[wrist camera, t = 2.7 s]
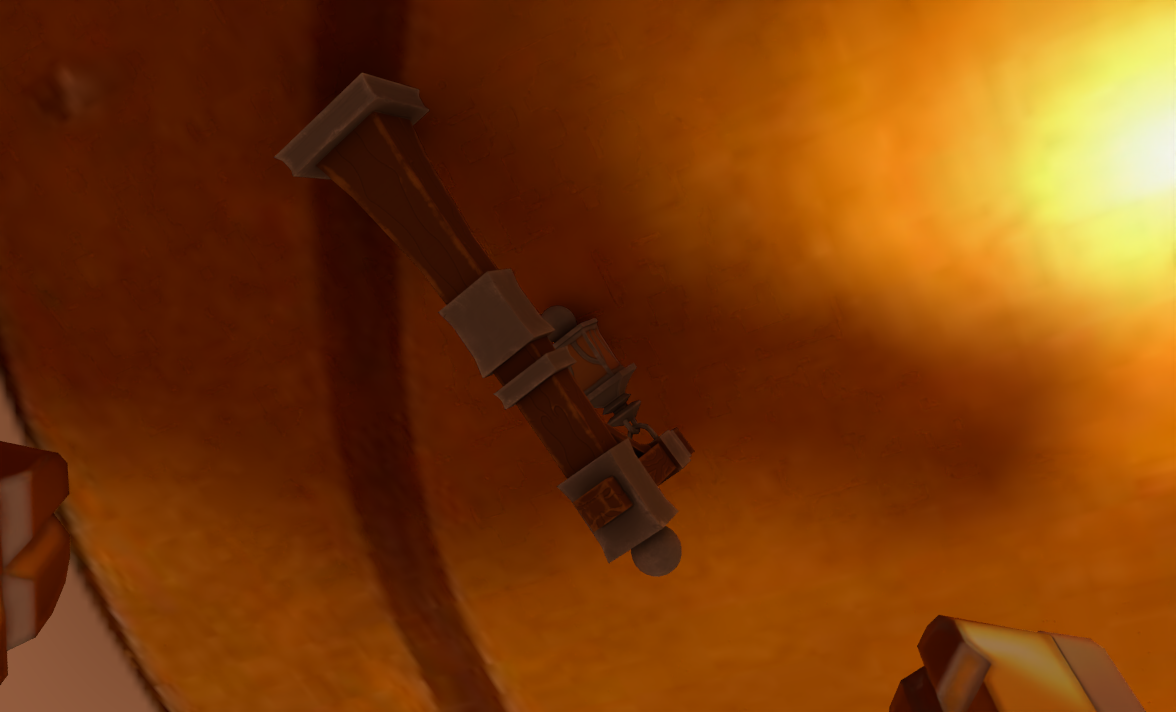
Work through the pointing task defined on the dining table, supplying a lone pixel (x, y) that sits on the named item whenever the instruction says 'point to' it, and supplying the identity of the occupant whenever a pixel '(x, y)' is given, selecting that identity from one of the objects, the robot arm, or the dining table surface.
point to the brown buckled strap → (504, 322)
